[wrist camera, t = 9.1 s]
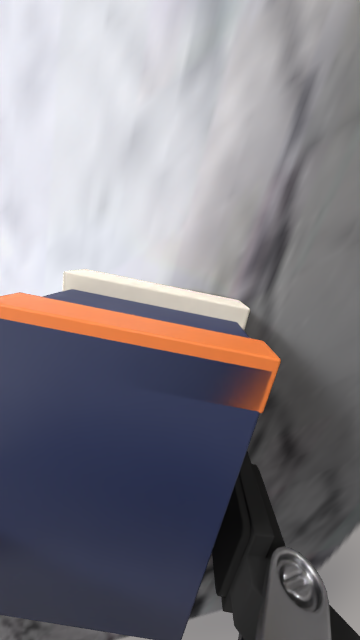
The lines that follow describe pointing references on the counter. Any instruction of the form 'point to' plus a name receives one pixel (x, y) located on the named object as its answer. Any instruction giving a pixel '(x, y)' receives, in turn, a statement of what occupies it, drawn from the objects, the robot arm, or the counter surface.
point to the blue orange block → (120, 448)
